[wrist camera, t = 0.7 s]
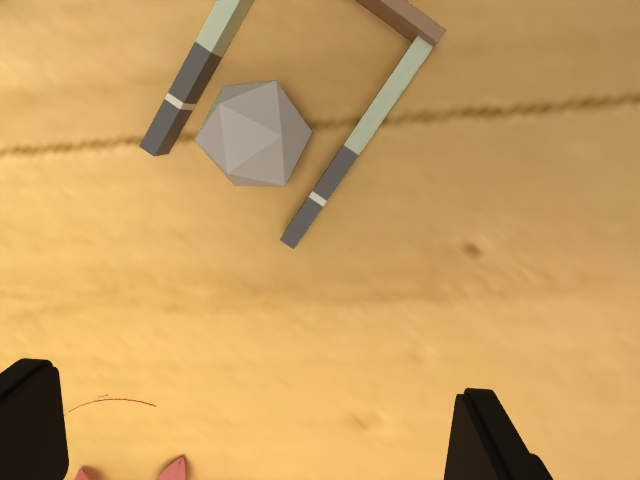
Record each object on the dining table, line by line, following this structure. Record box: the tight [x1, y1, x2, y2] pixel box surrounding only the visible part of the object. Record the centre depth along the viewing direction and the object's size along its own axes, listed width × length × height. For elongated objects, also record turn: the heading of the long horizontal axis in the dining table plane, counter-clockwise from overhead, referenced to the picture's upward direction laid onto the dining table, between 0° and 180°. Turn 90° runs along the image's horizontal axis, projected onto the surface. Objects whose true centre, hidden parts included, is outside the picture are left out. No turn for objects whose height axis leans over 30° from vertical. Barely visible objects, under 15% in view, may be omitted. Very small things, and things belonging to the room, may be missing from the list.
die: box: [195, 80, 312, 186], centre depth 36 cm, size 8×9×10 cm
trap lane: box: [139, 0, 447, 249], centre depth 36 cm, size 21×16×5 cm
